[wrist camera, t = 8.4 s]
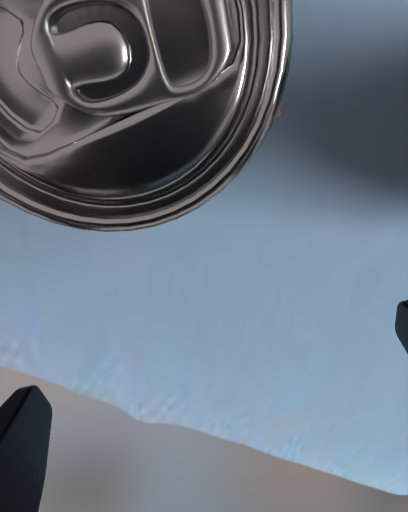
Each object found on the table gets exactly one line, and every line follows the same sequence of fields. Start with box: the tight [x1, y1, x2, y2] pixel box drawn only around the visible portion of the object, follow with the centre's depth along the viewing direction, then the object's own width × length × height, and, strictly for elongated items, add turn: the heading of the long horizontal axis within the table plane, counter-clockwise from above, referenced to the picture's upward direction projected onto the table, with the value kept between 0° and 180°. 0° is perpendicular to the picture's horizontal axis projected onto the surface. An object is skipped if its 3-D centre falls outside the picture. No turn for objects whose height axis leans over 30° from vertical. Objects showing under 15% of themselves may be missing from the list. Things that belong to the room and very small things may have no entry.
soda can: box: [0, 0, 293, 232], centre depth 9 cm, size 5×5×12 cm
